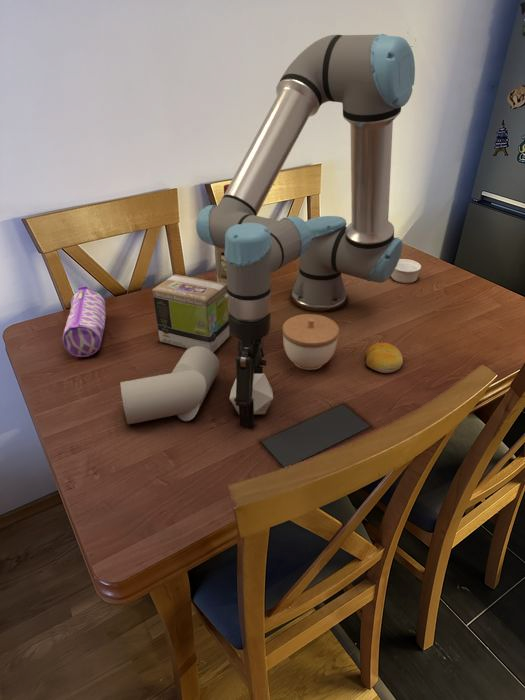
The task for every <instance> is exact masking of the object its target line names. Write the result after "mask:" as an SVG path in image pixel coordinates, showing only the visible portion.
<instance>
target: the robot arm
mask: <svg viewBox="0 0 525 700" xmlns="http://www.w3.org/2000/svg"><path fill="white" fill-rule="evenodd" d="M415 78H416V63H415V56H414V51H413V49H412V47H411V45H410V44H409V42H408V40H406V39H405V38H404V37H402V36H399V35H398V36H397V35H388V34H384V33H382V34H329V35H326V36H324V37H321V38H319V39H318V40H316V41H314V42H313V43H311V44H309V46H307V47H306V48H304V49H303V50H302V51H301V52H300V53H299V54H298V56H297V57H296V58H295V59H294V60H292V62H291V63H290V64H289V65H288V67H287V68H286V70H285V71H284V73H283V74H282V76H281V78H280V79H279V81H278V83H277V85H276V88H275V93H276V98H275V99H274V101H273V104H272V106H271V107H270V109H269V110H268V113H267V114H266V116H265V118H264V120H263V121H262V123H261V125H260V127H259V129H258V130H257V133H256V135H255V136H254V138H253V140H252V142H251V144H250V146H249V148H248V150H247V151H246V152H245V155H244V156H243V159H242V161H241V162H240V165H239V166H238V168H237V170H236V171H235V174H234V176H233V177H232V179H231V181H230V183H229V184H230V185H229V186H228V188H227V190H226V192H225V194H224V193H223V196H222V198H221V199H220V200H219V203H218V204H217V205H216V204H213V205H212V204H210V205H209V204H208V205H206V206H205V207H204V208H202V209H201V210H200V211H199V214H198V215H197V218H196V221H195V222H196V223H195V229H196V234H197V236H198V237H199V239H200V240H201V241H202V242H203V243H206V244H208V245H210V246H213V247H214V248H215V247H218V248H223V249H225V251H224V256H225V259H226V273H227V291H228V294H225V299H228V315H229V334H231V336H233V337H234V338H236V339H237V340H238V343H237V352H238V355H236V357H235V363H236V364H235V366H236V377H237V378H236V377H235V380H236V398H235V399H234V402H236V406H239V414H238V416H239V417H238V418H239V426H240V427H241V426H242V427H250V428H254V426H255V414H254V399H252V392H253V378H254V374H264V371H263V370H264V369H263V366H267V359H264V358H265V347H264V338H265V337H267V335H269V333H270V331H271V309H272V307H271V306H272V305H271V304H272V303H271V302H272V301H271V300H272V298H271V297H272V292H271V276H272V274H273V273H275V272H277V271H278V270H280V269H281V268H283V267H285V266H286V265H289V264H290V263H292V262H294V261H297V260H298V259H299V260H298V261H299V266H298V267H299V268H298V275H297V278H296V280H295V283H294V285H293V287H292V290H291V301H292V303H293V304H294V305H295V306H297V307H298V308H301V309H302V310H306V311H311V312H317V313H319V312H320V313H321V312H331V311H335V310H337V309H340V308H341V307H343V306H344V305H345V304H346V299H347V292H346V288H345V284H344V280H343V277H342V274H343V275H347V276H351V277H354V278H357V279H361V280H364V281H367V282H373V283H379V284H383V283H385V282H386V281H388V280H389V279H390V277H391V275H392V273H393V271H394V270H395V268H396V266H397V264H398V261H399V259H401V256H402V252H403V248H404V246H403V245H404V243H403V241H402V239H401V238H399V237H395V226H394V224H393V223H392V222H390V221H389V213H390V212H389V211H390V192H391V191H390V190H391V172H392V171H391V169H392V148H393V126H394V125H393V124H394V120H396V118H397V117H398V116H399V115H400V114H401V113H402V107H404V106H406V105H407V104H408V102H409V101H410V99H411V97H412V93H413V86H414V85H415ZM328 102H332V103H341V104H342V117H343V119H344V120H345V121H347V123H349V125H350V127H349V129H350V132H349V133H350V192H351V193H350V195H351V196H350V198H351V199H350V200H351V201H350V205H351V207H350V208H351V209H350V210H351V212H350V213H351V222H350V223H347V220H346V219H345V218H344V217H342V216H338V215H337V216H336V215H323V216H317V217H313V218H310V219H307V220H306V221H305V220H304V219H303V218H301V217H299V216H295V215H290V216H285V217H282V218H281V219H278V220H277V219H272V218H267V217H263V216H259V215H258V214H259V212H260V210H261V208H262V207H263V204H264V202H265V201H266V199H267V197H268V195H269V193H270V191H271V189H272V187H273V185H274V184H275V182H276V180H277V179H278V176H279V175H280V172H281V171H282V169H283V167H284V165H285V163H286V161H287V160H288V157H289V155H290V153H291V152H292V150H293V148H294V146H295V144H296V142H297V140H298V139H299V137H300V135H301V133H302V131H303V129H304V127H305V125H306V123H307V121H308V120H309V118H310V117H313V116H315V115H316V114H317V113H318V111H319V110H320V108H321V107H322V105H323V104H326V103H328ZM347 224H348V225H347Z"/></svg>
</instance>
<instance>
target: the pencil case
mask: <svg viewBox="0 0 525 700" xmlns="http://www.w3.org/2000/svg"><path fill="white" fill-rule="evenodd" d="M77 289H78V291H76V292H75V293H74V295H73V296H72V297H71V300H70V301H69V302H68V304H69V307H70V310H69V314H68V316H67V320H66V323H65V327H64V330H63V332H62V333H63V335H62V344H63V347H64V349H65V350H66V351H67V353H69V354H70V355H71V356H73V357H76V358H89V357H91V356H93V355H94V354H96V353H97V352H98V351H99V350H100V348H101V345H102V342H103V336H104V332H105V328H106V317H107V314H106V313H107V311H106V310H107V309H106V300H105V299H104V297H103V296H102V295H101V293H100V294H99V293H98V292H97V291H94V290H91V289H89V288H88V286H87V285H83V286H78V287H77Z"/></svg>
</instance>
